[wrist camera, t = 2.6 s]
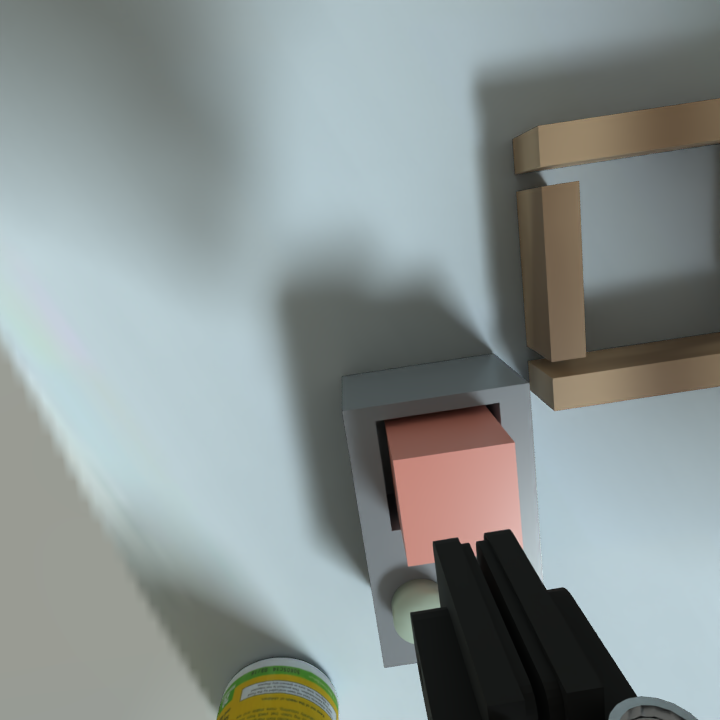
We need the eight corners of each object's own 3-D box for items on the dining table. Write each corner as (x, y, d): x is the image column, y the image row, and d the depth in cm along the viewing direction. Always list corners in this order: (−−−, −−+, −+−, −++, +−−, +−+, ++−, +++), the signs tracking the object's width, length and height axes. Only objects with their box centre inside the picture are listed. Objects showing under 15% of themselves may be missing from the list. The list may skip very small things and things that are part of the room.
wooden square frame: (775, 99, 19) (841, 79, 16) (763, 354, 21) (819, 371, 18) (512, 139, 19) (537, 125, 16) (530, 389, 21) (554, 411, 18)
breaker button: (484, 404, 18) (515, 442, 14) (492, 495, 18) (523, 549, 15) (384, 419, 18) (392, 460, 14) (396, 509, 18) (407, 566, 15)
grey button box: (494, 353, 20) (538, 390, 16) (512, 573, 23) (556, 661, 18) (342, 376, 20) (342, 420, 16) (377, 593, 23) (386, 686, 18)
